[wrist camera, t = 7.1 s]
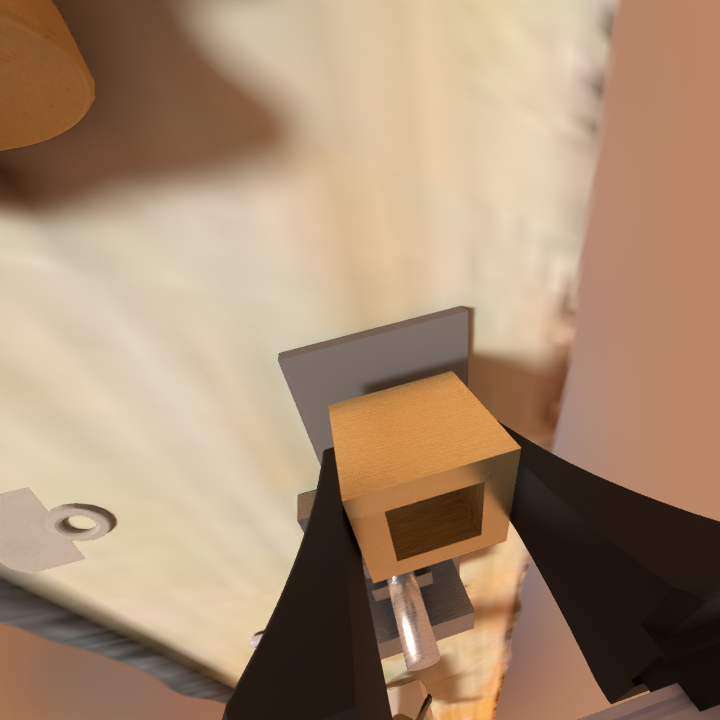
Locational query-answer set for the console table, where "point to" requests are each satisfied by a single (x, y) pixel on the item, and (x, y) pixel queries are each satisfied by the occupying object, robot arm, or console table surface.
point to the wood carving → (410, 702)
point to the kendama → (39, 74)
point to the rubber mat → (373, 365)
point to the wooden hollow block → (423, 473)
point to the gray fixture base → (412, 606)
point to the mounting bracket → (43, 531)
